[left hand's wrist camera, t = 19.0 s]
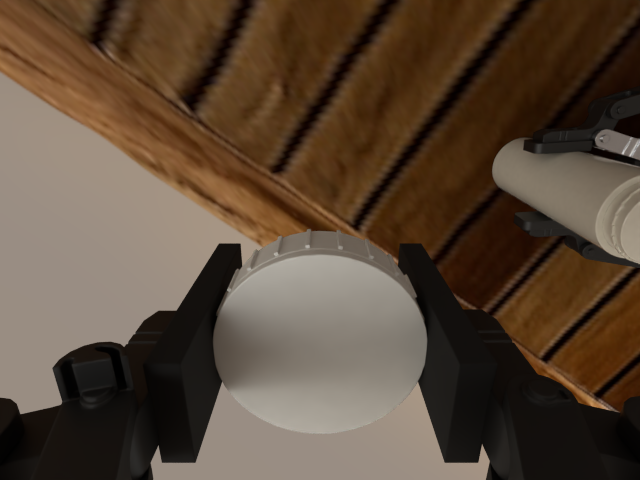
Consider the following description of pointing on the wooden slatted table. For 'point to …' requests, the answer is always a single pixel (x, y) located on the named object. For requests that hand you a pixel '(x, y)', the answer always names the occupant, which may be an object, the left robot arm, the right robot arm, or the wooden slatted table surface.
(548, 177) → the jar
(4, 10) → the wooden slatted table surface
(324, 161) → the wooden slatted table surface
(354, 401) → the lid
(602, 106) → the right robot arm
